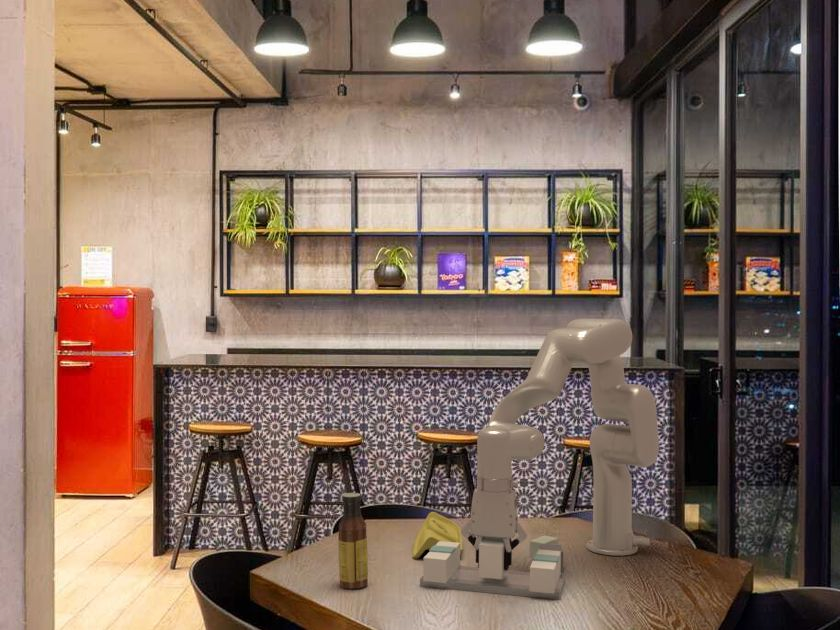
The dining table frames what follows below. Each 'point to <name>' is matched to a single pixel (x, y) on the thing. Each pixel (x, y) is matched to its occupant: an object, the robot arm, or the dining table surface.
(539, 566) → the mounted module
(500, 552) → the block
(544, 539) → the block
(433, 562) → the block
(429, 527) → the plastic component
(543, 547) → the block
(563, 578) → the rail
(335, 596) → the dining table surface
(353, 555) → the sauce bottle
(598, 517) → the robot arm
